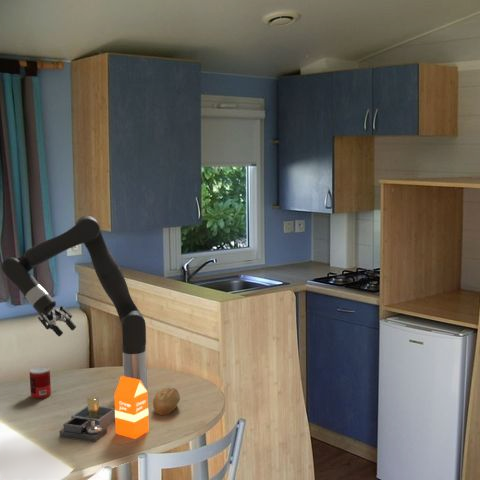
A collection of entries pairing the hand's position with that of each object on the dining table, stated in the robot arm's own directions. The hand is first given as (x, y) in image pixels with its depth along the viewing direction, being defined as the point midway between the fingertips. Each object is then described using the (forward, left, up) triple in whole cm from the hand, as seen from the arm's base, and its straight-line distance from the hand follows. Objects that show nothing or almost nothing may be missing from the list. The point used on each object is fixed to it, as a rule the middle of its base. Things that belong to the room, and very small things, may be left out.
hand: (67, 331), depth 270 cm
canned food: (-9, -20, -31) cm, 38 cm away
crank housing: (+18, +17, -31) cm, 39 cm away
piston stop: (+8, +15, -30) cm, 34 cm away
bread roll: (-13, +34, -31) cm, 48 cm away
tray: (+8, +15, -31) cm, 35 cm away
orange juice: (+10, +32, -31) cm, 46 cm away
